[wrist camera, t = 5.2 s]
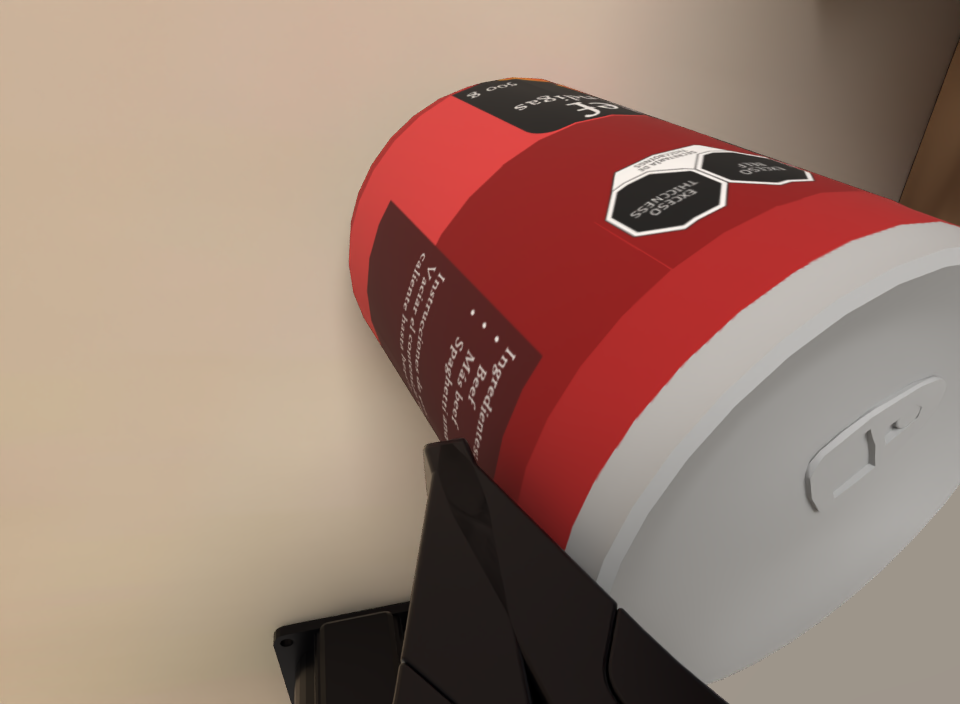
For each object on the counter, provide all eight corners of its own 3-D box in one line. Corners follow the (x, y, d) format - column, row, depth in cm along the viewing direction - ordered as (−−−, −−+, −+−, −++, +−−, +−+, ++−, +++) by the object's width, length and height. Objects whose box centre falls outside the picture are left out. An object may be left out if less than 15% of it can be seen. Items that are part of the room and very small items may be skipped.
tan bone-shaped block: (855, 388, 25) (914, 437, 23) (691, 413, 24) (735, 468, 21) (1064, -137, 16) (1200, -149, 14) (818, -141, 15) (919, -154, 12)
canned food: (652, 186, 19) (1071, 389, 11) (484, 392, 20) (740, 716, 12) (482, -12, 14) (1010, 78, 6) (274, 276, 15) (461, 690, 7)
